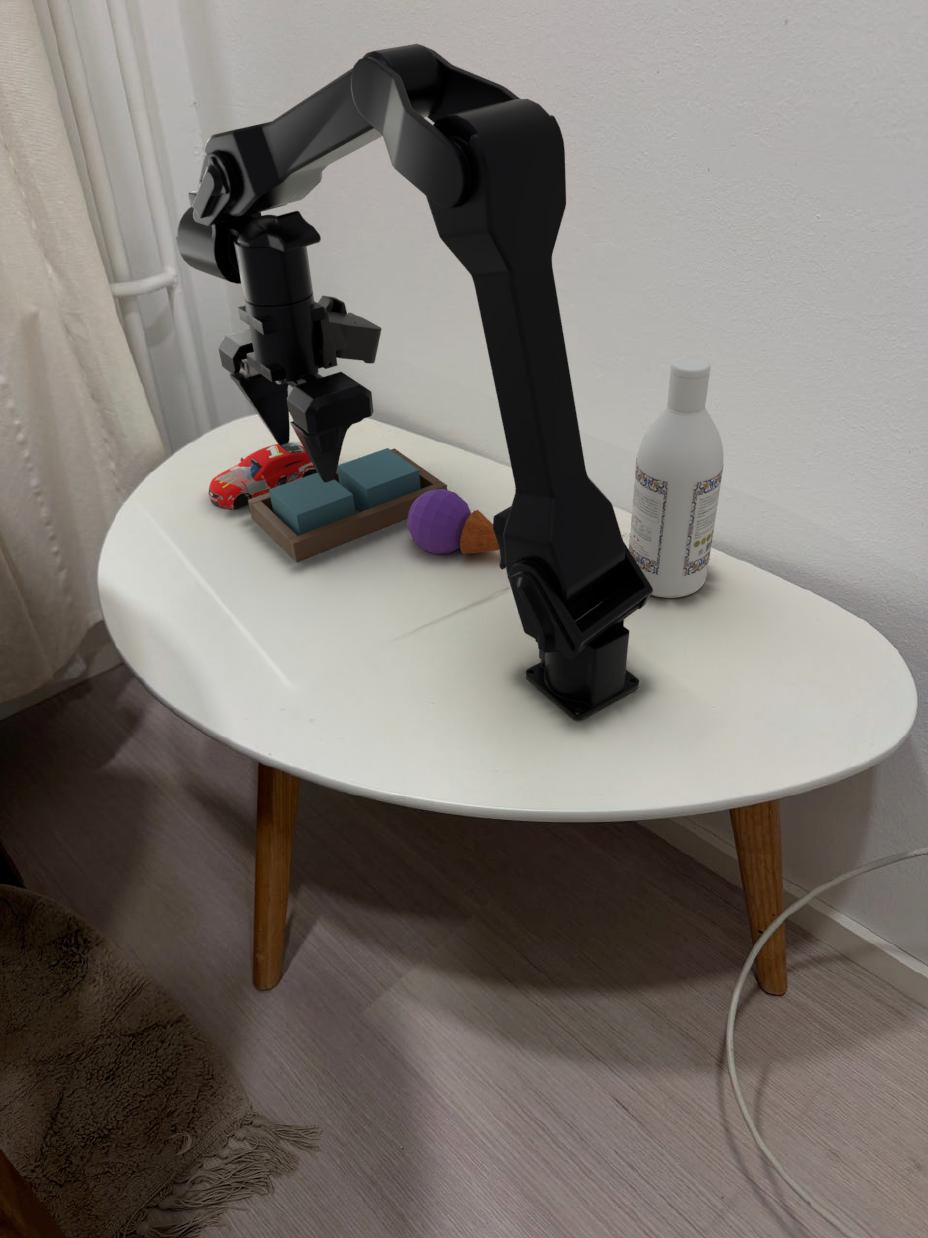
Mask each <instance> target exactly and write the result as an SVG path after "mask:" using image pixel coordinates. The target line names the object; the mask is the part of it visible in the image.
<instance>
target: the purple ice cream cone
mask: <svg viewBox="0 0 928 1238" xmlns="http://www.w3.org/2000/svg"><path fill="white" fill-rule="evenodd" d="M406 521H407V522H406V523H407V525H406V526H407V528H408V532H409V534H410V537H411V540H412V541H413V542H414V543H415V544H416V545H417V546H418V547H419V548H420V549H422V550H423V551H425V552H428V553H431V554H434V555H446V554H450V553H453V552H455V551H457V550H458V549H460V552H461V554H463V555H470V554H479V553H484V552H485V553H486V552H494V551H500V550H499V546H498V542H497V539H496V537H495V534H494V531H493V522H492V521H490V520H489V519H488V518H487V517H486V515H484V514H483V513H482V512H481V511H480V510H479V509H476V510H473V512H471V508H470V507H469V504H468V503H467V501H466V500H464V499H463V498H462V497H460V495H459V494H458V493H456V492H454V491H452V490H448V489H447V490H445V489H439V490H431V491H427V492H425V493H424V494H422V495H421V496H419V497H418V498H417V499H416V500H415V501H414V502H413V504H412V506H411V508H410V511H409V513H408V518H407V519H406Z"/></svg>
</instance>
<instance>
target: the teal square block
mask: <svg viewBox="0 0 928 1238" xmlns="http://www.w3.org/2000/svg"><path fill="white" fill-rule="evenodd" d="M337 469H338V477H339V484H341V485H342V486H343V487H344V488H345V489H347V490H348V491H349V492H350V493H352V494H353V499H354V507H356V508H357V509H358V510H359V511H360V512H362V511H365V510H368V509H370V508H373V507H376V506H378V505H381V504H383V503H386V502H389V501H391V500H394V499H397V498H399V497H402V496H404V495H407V494H410V493H412V492H415V491H418V490H420V477H419V470H418V469H417V468H415V467H414V466H413V465H411V464H410V463H408V462H407V461H406V460H404V459H403V458H401V457H400V456H399V455H397V454H396V453H394V452H393V451H392V450H391V449H390V448H389V447H386V448H383V449H380V450H377V451H375V452H372V453H370V454H369V453H368V454H366V455H363V456H359V457H358V458H355V459H352V460H349V461H346V462H343V463H341V464H338V467H337Z"/></svg>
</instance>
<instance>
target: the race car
mask: <svg viewBox="0 0 928 1238" xmlns="http://www.w3.org/2000/svg"><path fill="white" fill-rule="evenodd" d="M315 473H318V472H317V471H316V469H315V467H314V465H313V464H312V462H311V460H310V458H309V456H308V454H307V453H306V451H305V449H304V447H303V445H302V444H301V442H300V441H289V442H288V443H287V444H284V445H279V444H278V443H275V444H272V445H269V446H265V447H262V448H260V449H257V450H256V451H253V452H251V453H250V454H249V455H247V456H245V457H240V462H238V464H236V465H233V466H231V467H230V468H228V469H226V470H224V471H223V472H220V473H218V474H217V475H216V476H214V477H213V478H212V479H211V481H210V483H209V486H208V497H209V500H210V502H211V503H212V504H213V505H215V506H216V507H219V508H221V509H225V510H226V509H227V510H234V509H236V510H239V509H240V508H241V509H242V508H243V507H246V506H249V503H248V500H249V499H252V498H255V497H257V496H260V495H263V494H266V493H269V489H272V488H275V487H278V486H281V485H284V484H286V483H289V482H292V481H295V480H298V479H301V478H304V477H306V476H309V475H312V474H315Z"/></svg>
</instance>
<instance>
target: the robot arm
mask: <svg viewBox="0 0 928 1238" xmlns="http://www.w3.org/2000/svg"><path fill="white" fill-rule="evenodd" d="M426 118H428V119H429V120H428V119H426ZM430 121H431V122H432V123H433V124H432V123H431V122H430ZM380 138H383V141H384V145H385V148H386V150H387V153H388V156H389V160H390V163H391V166H392V167H393V169H394V170H395V171H397V173H398V174H400V175H401V176H402V177H403V178H405V179H406V180H407V181H408V182H409V183H411V184H412V185H413V186H414V188H416V189H417V190H418V191H420V192H421V193H422V194H423V195H424V196H425V198H426V201H427V204H428V207H429V210H430V213H431V216H432V219H433V222H434V225H435V228H436V231H437V234H438V236H439V239H440V240H441V241H442V243H444V245H445V246H446V247H447V248H448V249H449V250H450V252H451V253H452V254H453V255H454V257H455V258H456V259H457V260H458V261H459V262H460V264H461V265H462V267H464V268H465V270H466V271H467V272H468V273H469V275H470V276H471V278H472V282H473V286H474V290H475V295H476V300H477V304H478V305H477V306H478V310H479V315H480V319H481V324H482V330H483V334H484V339H485V344H486V349H487V353H488V354H487V355H488V359H489V364H490V369H491V373H492V379H493V383H494V388H495V394H496V398H497V403H498V408H499V413H500V417H501V422H502V427H503V432H504V437H505V443H506V446H507V453H508V457H509V463H510V467H511V472H512V477H513V481H514V489H515V492H514V496H513V499H512V503H511V505H509V506H508V507H507V508H505V509H503V510H501V511H500V512H498V513H496V514H495V515H493V518H492V524H493V531H494V534H495V537H496V539H497V542H498V546H499V550H498V551H499V557H500V558H499V569H500V570H504V569H506V576H507V579H508V582H509V585H510V588H511V592H512V595H513V600H514V603H515V606H516V609H517V613H518V616H519V619H520V623H521V626H522V630H523V632H524V634H526V635H527V636H529V637H531V638H533V639H534V640H535V642H536V643H537V649H538V658H539V660H540V662H539V663H536V664H534V665H533V666H531V667H529V668H527V669H526V670H525V673H524V674H525V676H524V677H525V678H526V680H528V681H529V682H530V683H532V685H534V686H535V688H537V689H538V690H539V691H541V692H542V693H543V694H544V695H545V696H546V697H548V698H549V700H551V701H552V702H553V703H554V704H555V705H556V706H558V707H559V708H560V709H561V710H562V711H564V712H565V713H566V714H567V715H568V716H569V717H571V719H573V720H576V721H580V720H583V719H585V718H587V717H589V716H591V715H592V714H594V713H595V712H597V711H600V710H601V709H603V708H605V707H606V706H608V705H610V704H612V703H614V702H615V701H616V700H617V701H618V700H619V699H620V698H623V697H624V696H625V695H628V694H629V693H631V692H633V691H635V690H636V689H638V688H639V686H640V680H639V678H638V677H636V676H635V675H634V674H632V673H631V672H630V671H628V670H627V662H628V653H629V652H628V651H629V642H630V641H629V640H630V630H629V629H628V628H627V627H625V625H624V624H625V619H627V618H628V617H630V616H631V615H633V613H635V612H636V611H637V610H642V608H643V607H645V606H646V604H647V602H648V601H649V599H650V598H651V596H652V595H651V594H652V592H653V588H652V586H651V585H650V583H649V581H648V580H647V578H646V577H645V575H644V573H643V572H642V570H641V569H640V567H639V565H638V564H637V562H636V561H635V559H634V557H633V556H632V554H631V552H630V551H629V547H628V546H627V544H626V543H625V541H624V539H623V535H622V533H621V532H622V531H621V529H620V526H619V522H618V519H617V516H616V513H615V509H614V506H613V503H612V501H611V500H610V499H609V498H608V497H607V496H606V495H605V494H604V493H603V491H602V490H601V489H600V488H599V487H598V486H597V485H596V484H595V482H593V480H592V479H591V478H590V477H589V475H588V472H587V468H586V463H585V455H584V450H583V445H582V439H581V433H580V426H579V421H578V415H577V408H576V407H577V406H576V403H575V402H576V401H575V397H574V396H575V395H574V390H573V385H572V384H573V383H572V378H571V371H570V365H569V359H568V354H567V349H566V341H565V334H564V328H563V323H562V318H561V310H560V304H559V299H558V293H557V287H556V281H555V274H554V268H553V253H554V248H555V246H556V243H557V240H558V236H559V232H560V229H561V225H562V222H563V218H564V214H565V210H566V208H567V207H566V206H567V182H566V181H567V180H566V179H567V178H566V149H565V141H564V137H563V134H562V130H561V127H560V124H559V122H558V121H557V119H556V117H555V115H553V114H550V113H548V111H546V110H545V108H544V107H543V106H542V105H541V104H540V103H538V102H537V101H536V102H535V101H534V100H531V99H529V98H520V97H519V96H517V94H515V93H514V92H513V91H511V90H510V89H509V88H508V87H506V86H504V85H502V84H500V83H497V82H494V81H492V80H490V79H487V78H485V77H483V76H480V75H478V74H475V73H473V72H471V71H469V70H466V69H464V68H461V67H458V66H457V65H455V64H452V63H451V62H450V61H448V60H447V59H446V58H445V57H444V56H442V55H441V54H440V53H438V52H437V51H436V50H434V49H432V48H429V46H428V47H427V46H425V45H423V44H419V43H414V44H413V43H412V44H406V45H401V46H395V47H394V46H393V47H389V48H383V49H377V50H372V51H368V52H366V53H365V54H363V56H362V58H358V60H357V61H356V62H355V64H354V65H353V67H352V68H350V69H348V70H347V71H346V72H344V73H343V74H341V75H339V76H338V77H337V78H335V79H334V80H331V81H330V82H329V83H327V84H325V85H324V86H322V87H321V88H319V90H317V91H316V92H313V94H311V95H309V96H308V97H306V98H304V99H303V100H302V101H300V102H299V103H297V104H296V105H294V106H293V107H291V108H290V109H288V110H287V111H285V112H283V113H282V114H281V115H279V116H277V117H276V118H275V119H273V120H271V121H267V122H264V123H259V124H253V125H250V126H249V125H248V126H245V127H240V128H236V129H233V130H228V131H223V132H219V133H214V134H212V135H210V137H209V138H208V139H207V141H206V143H205V147H204V153H205V154H206V155H205V156H204V158H203V161H202V165H201V171H200V174H199V175H200V176H199V180H198V187H197V190H193V191H188V192H187V197H188V202H189V207H188V208H187V209H186V210H185V212H184V213H183V214H182V216H181V218H180V220H179V223H178V226H177V231H176V236H175V242H176V247H177V250H178V253H179V255H180V256H181V258H182V259H183V261H184V262H185V263H186V264H187V265H188V266H190V267H191V268H193V269H195V270H197V271H199V272H202V273H205V274H208V275H210V276H213V277H216V278H219V279H221V280H224V281H227V282H229V283H233V284H236V285H241V290H242V295H243V301H244V305H241V306H237V311H238V317H239V320H240V321H242V322H244V323H245V324H247V325H248V329H245V330H242V331H237V332H233V333H229V334H226V335H224V337H223V339H222V340H221V341H220V344H219V346H218V354H219V358H220V363H221V367H222V368H223V369H225V370H226V371H227V372H228V374H229V378H230V380H232V381H233V382H234V384H235V385H236V386H237V388H238V389H239V390H240V392H241V393H242V395H243V396H244V397H245V399H246V400H247V402H248V403H249V404H250V406H251V407H252V409H253V410H254V411H255V413H256V415H258V416H257V417H259V419H260V420H261V422H262V423H263V425H264V426H265V427H266V428H267V430H268V432H269V433H270V435H271V436H272V438H273V439H274V440H275V442H276V444H279V445H284V444H287V443H288V442H290V439H291V437H290V431H291V430H290V429H291V428H290V427H292V430H293V431H294V433H295V435H296V436H297V438H298V440H299V442H301V444H302V445H303V447H304V449H305V451H306V453H307V454H308V456H309V458H310V460H311V462H312V464H313V465H314V467H315V469H316V471H317V472H318V474H319V476H320V477H321V479H322V481H323V482H325V483H326V482H329V481H332V480H334V479H335V476H336V472H337V467H338V465H339V463H340V458H341V454H342V449H343V444H344V441H345V438H346V435H347V433H348V430H349V429H350V428H351V427H352V426H353V425H356V424H358V423H360V422H362V421H364V419H368V418H371V417H372V416H373V414H374V412H375V411H374V401H373V393H372V391H371V390H370V389H368V388H367V387H365V386H364V385H362V384H361V383H360V382H358V381H356V380H355V379H353V378H352V377H351V376H350V375H347V374H346V373H344V372H343V371H338V372H335V373H332V374H329V375H325V376H323V375H321V374H320V373H319V371H320V370H319V369H324V370H327V369H331V368H334V367H337V366H338V359H343V360H351V361H361V362H362V361H363V363H365V364H368V365H369V364H375V363H376V360H377V359H376V358H377V353H378V349H379V345H380V338H381V334H382V327H381V326H379V325H377V324H376V323H373V322H372V321H370V320H369V319H366V318H364V317H363V316H361V315H360V316H359V315H357V314H354V313H353V312H348V311H347V307H346V303H345V302H344V301H342V300H341V299H339V298H337V297H335V296H328V295H321V297H320V298H319V300H318V302H317V301H315V296H314V290H313V289H314V288H313V283H312V275H311V267H310V261H309V253H308V252H309V251H308V247H310V246H312V245H316V244H319V243H320V242H321V241H322V237H321V234H320V232H318V230H317V229H316V227H314V226H313V225H312V224H311V223H309V222H308V221H307V220H306V219H305V218H304V217H303V216H302V213H301V211H299V210H293V211H290V212H287V213H282V214H279V215H275V214H263V215H262V212H265V211H270V210H273V209H277V208H281V207H285V206H287V205H289V204H293V203H296V202H299V201H302V200H304V199H305V198H306V197H307V196H308V195H309V194H310V193H311V192H312V191H313V190H314V189H315V188H316V187H317V186H318V185H319V184H320V183H321V182H322V179H323V171H324V170H325V169H326V168H327V167H328V166H330V165H331V164H334V163H336V162H337V161H339V160H341V159H343V158H344V157H346V156H348V155H350V154H352V153H354V152H356V151H357V150H360V149H361V148H363V147H365V146H368V144H371V143H372V142H375V141H376V140H378V139H380ZM289 386H290V387H291V388H292V389H291V391H290V393H289ZM290 417H291V419H292V421H290Z"/></svg>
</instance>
